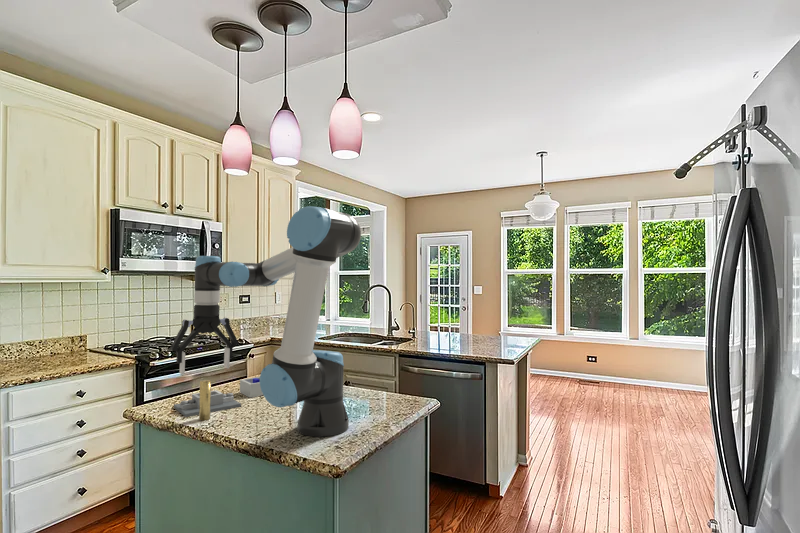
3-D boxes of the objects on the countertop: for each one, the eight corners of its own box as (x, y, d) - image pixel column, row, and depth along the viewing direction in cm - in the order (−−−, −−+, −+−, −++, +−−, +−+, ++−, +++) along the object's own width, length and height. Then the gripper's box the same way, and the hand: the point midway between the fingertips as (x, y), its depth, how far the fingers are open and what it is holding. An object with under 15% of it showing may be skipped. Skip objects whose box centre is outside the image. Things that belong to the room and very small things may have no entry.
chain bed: (240, 406, 150) (241, 393, 150) (185, 417, 138) (185, 403, 138) (226, 398, 161) (226, 386, 161) (173, 407, 149) (174, 394, 149)
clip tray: (293, 389, 174) (293, 377, 174) (250, 397, 162) (250, 384, 162) (282, 385, 181) (282, 373, 181) (239, 392, 169) (239, 379, 169)
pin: (211, 419, 136) (212, 381, 137) (201, 421, 134) (201, 382, 135) (208, 416, 139) (209, 379, 139) (197, 418, 137) (198, 381, 137)
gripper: (240, 302, 149) (239, 363, 148) (160, 304, 132) (158, 373, 132) (249, 303, 143) (247, 367, 143) (167, 305, 127) (164, 378, 126)
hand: (205, 370), depth 137 cm, fingers open, 13 cm apart
